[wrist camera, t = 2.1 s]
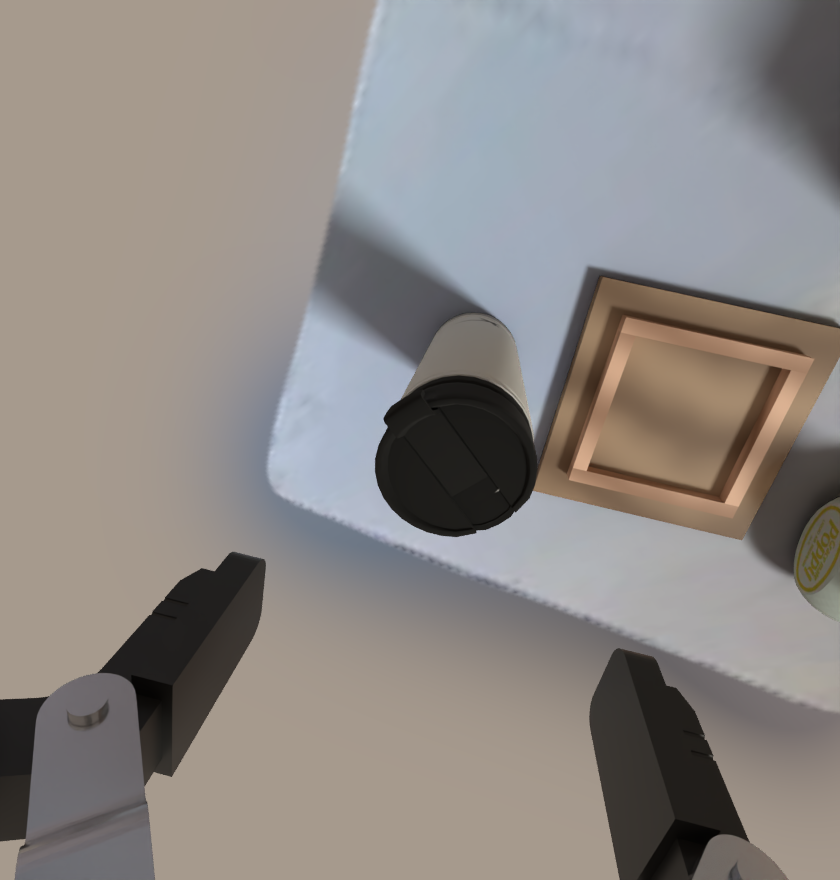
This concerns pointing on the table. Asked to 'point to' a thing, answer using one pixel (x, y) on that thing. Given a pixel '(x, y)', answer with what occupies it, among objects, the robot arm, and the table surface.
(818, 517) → the air freshener
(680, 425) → the tan square plate
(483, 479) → the travel mug
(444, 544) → the table surface
